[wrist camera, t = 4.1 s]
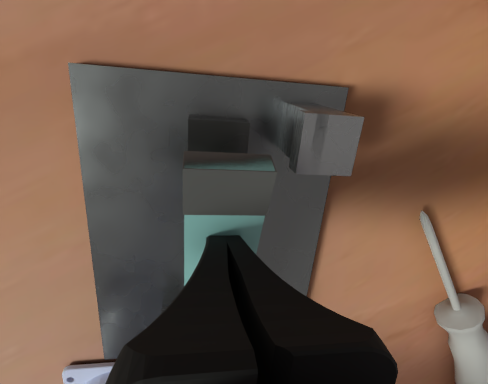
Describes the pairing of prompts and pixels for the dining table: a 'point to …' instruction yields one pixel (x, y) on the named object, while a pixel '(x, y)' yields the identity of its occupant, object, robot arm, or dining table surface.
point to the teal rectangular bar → (224, 199)
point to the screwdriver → (460, 321)
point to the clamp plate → (171, 175)
